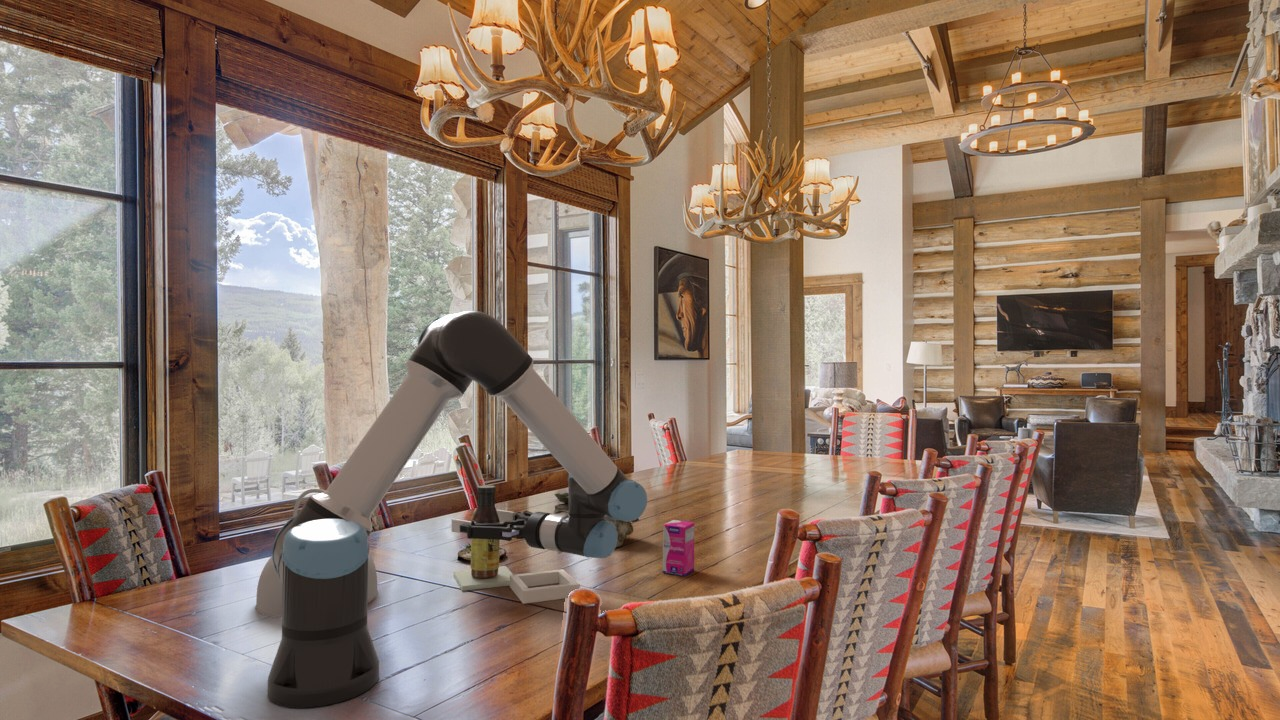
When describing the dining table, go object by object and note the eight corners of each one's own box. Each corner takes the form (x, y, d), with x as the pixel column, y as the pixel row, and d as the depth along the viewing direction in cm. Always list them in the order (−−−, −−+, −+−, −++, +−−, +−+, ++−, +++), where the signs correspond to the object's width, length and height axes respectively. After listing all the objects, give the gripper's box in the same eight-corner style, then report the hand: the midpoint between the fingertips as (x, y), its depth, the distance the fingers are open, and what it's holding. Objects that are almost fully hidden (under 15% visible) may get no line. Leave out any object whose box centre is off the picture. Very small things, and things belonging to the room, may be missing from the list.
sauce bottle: (492, 580, 152) (493, 489, 153) (465, 578, 153) (466, 488, 154) (503, 572, 159) (504, 484, 159) (478, 570, 160) (479, 483, 160)
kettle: (408, 595, 146) (409, 487, 146) (309, 629, 126) (310, 504, 127) (332, 576, 158) (333, 477, 159) (231, 605, 139) (233, 492, 139)
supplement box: (661, 573, 162) (662, 524, 162) (672, 567, 167) (672, 519, 167) (684, 577, 159) (684, 526, 159) (695, 570, 164) (695, 521, 164)
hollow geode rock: (556, 548, 203) (527, 515, 196) (579, 512, 211) (552, 480, 203) (625, 563, 184) (596, 528, 177) (648, 523, 191) (621, 488, 184)
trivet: (462, 591, 148) (462, 586, 148) (453, 575, 159) (453, 571, 159) (517, 584, 153) (517, 579, 153) (505, 569, 164) (505, 565, 164)
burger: (448, 562, 171) (448, 532, 171) (474, 551, 182) (474, 522, 182) (490, 567, 167) (491, 536, 167) (515, 555, 178) (515, 526, 178)
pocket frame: (523, 603, 140) (523, 591, 140) (509, 586, 151) (509, 575, 151) (579, 596, 145) (579, 584, 145) (562, 580, 156) (562, 569, 156)
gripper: (510, 562, 137) (432, 548, 148) (582, 537, 157) (508, 526, 168) (510, 524, 137) (432, 512, 148) (582, 504, 158) (509, 495, 169)
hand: (473, 519), depth 158 cm, fingers open, 12 cm apart
